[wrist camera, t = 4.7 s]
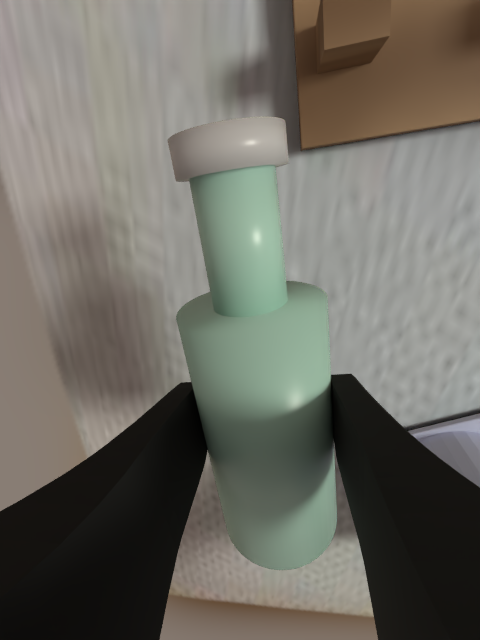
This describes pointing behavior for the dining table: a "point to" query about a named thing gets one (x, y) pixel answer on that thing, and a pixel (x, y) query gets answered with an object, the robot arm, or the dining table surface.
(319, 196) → the dining table surface
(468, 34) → the bottle cradle
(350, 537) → the dining table surface
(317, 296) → the bottle
